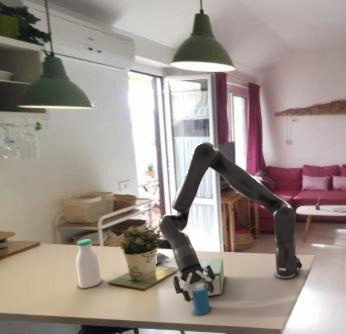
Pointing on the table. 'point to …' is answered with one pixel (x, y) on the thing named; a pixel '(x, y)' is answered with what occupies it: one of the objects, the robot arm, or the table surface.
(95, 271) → the milk bottle
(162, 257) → the packaged food
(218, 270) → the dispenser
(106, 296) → the table surface
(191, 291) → the drawer
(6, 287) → the table surface
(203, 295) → the detergent bottle
